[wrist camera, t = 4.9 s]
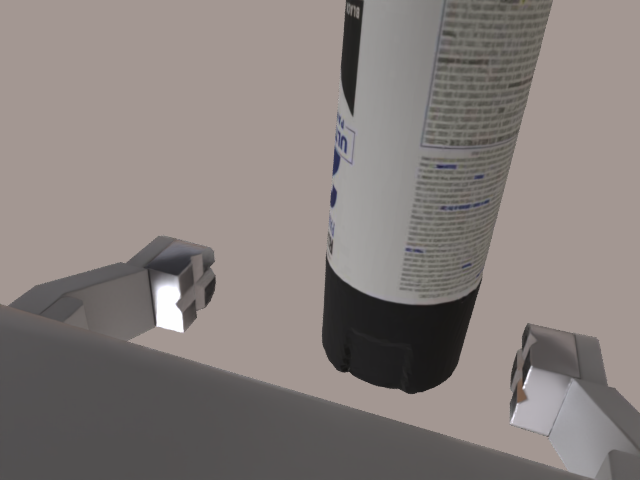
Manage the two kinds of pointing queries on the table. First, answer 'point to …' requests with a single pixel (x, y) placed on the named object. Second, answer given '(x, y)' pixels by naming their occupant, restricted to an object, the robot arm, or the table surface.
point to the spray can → (420, 177)
